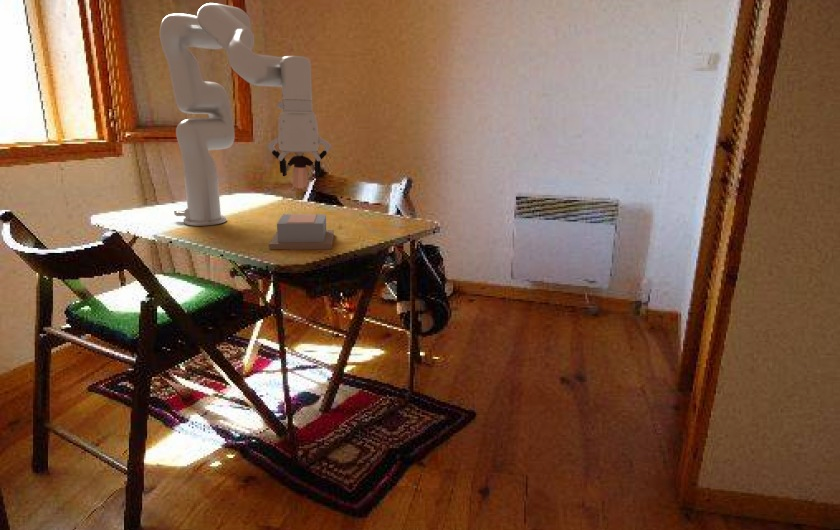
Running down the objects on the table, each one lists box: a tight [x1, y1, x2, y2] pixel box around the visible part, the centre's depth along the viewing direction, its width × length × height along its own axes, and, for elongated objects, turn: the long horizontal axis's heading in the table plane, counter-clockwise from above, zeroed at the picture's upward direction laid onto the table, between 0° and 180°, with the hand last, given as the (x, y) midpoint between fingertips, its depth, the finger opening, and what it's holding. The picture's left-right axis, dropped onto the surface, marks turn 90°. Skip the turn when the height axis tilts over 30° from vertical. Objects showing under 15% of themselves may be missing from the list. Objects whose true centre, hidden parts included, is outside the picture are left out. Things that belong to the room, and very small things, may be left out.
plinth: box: [268, 213, 335, 251], centre depth 149 cm, size 16×16×7 cm
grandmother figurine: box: [286, 152, 315, 192], centre depth 144 cm, size 8×4×13 cm, turn 107°
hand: (300, 175), depth 144 cm, fingers closed on grandmother figurine, 7 cm apart
